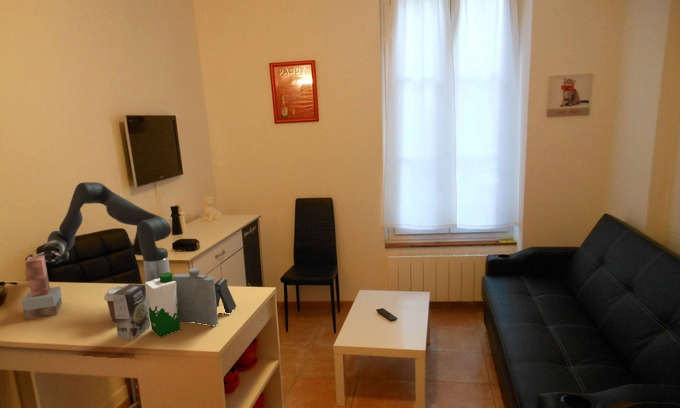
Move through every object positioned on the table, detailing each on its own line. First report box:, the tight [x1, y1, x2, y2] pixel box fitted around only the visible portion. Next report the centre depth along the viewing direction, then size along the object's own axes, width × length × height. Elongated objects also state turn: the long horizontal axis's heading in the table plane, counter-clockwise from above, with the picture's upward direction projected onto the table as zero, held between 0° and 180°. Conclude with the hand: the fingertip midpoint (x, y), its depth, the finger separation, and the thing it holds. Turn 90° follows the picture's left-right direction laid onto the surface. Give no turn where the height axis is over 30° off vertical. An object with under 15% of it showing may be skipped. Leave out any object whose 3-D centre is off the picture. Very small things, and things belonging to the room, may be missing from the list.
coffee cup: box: [103, 285, 126, 325], centre depth 157 cm, size 9×9×12 cm
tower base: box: [23, 297, 63, 321], centre depth 166 cm, size 10×10×4 cm
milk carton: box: [144, 272, 181, 338], centre depth 148 cm, size 9×9×20 cm
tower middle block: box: [21, 286, 63, 312], centre depth 165 cm, size 10×10×4 cm
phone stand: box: [214, 277, 237, 314], centre depth 163 cm, size 9×6×12 cm, turn 82°
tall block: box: [24, 255, 51, 297], centre depth 163 cm, size 5×5×14 cm
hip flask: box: [172, 267, 219, 327], centre depth 153 cm, size 16×4×20 cm, turn 73°
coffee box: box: [113, 283, 151, 341], centre depth 147 cm, size 9×6×16 cm
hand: (43, 263), depth 170 cm, fingers open, 8 cm apart
